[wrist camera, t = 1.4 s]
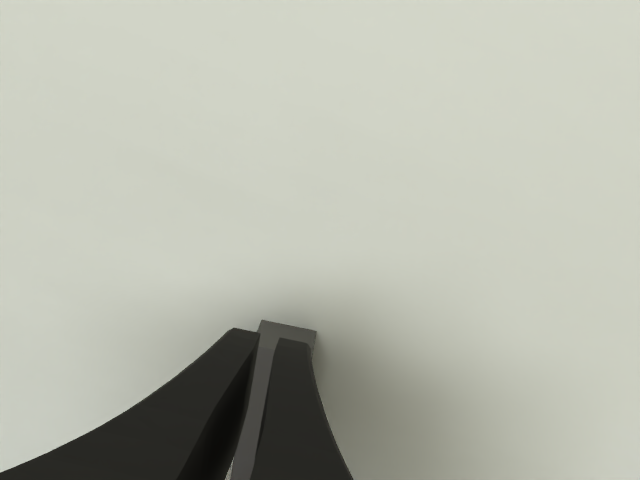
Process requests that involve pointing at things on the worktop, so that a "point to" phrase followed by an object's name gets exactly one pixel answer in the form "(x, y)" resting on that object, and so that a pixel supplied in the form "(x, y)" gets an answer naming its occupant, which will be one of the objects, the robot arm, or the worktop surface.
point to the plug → (262, 391)
